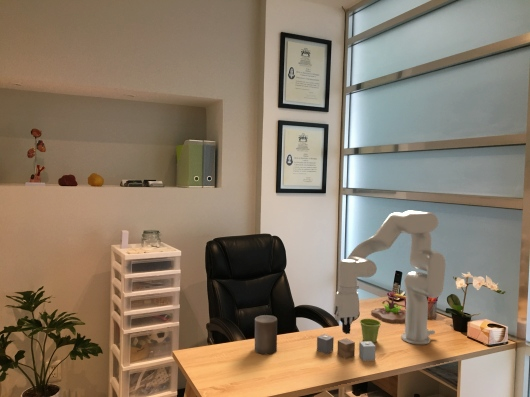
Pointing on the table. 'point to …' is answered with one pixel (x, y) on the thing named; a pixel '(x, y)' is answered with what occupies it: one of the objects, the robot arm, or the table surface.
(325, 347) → the charcoal block
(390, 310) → the plant
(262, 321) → the pillar candle
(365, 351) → the slate block
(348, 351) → the walnut block
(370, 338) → the plant pot
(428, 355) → the table surface
